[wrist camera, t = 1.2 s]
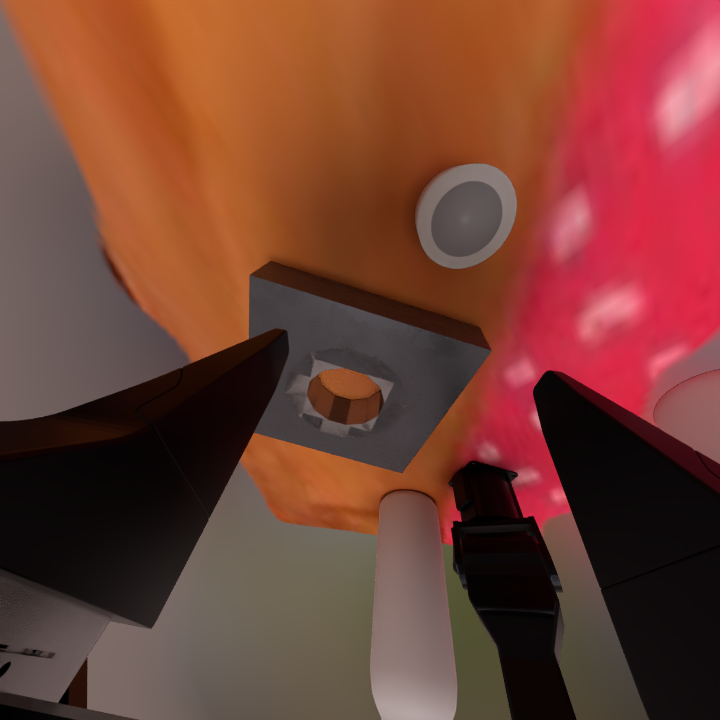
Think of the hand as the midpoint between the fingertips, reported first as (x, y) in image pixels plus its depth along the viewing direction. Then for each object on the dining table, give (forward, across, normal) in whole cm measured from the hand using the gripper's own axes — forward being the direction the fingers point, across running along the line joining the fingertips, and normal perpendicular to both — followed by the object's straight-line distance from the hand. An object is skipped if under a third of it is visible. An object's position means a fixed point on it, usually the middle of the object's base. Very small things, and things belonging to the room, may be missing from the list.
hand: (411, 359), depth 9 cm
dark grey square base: (+12, +3, +12) cm, 18 cm away
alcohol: (+12, -8, +36) cm, 39 cm away
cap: (+13, -3, -3) cm, 13 cm away
